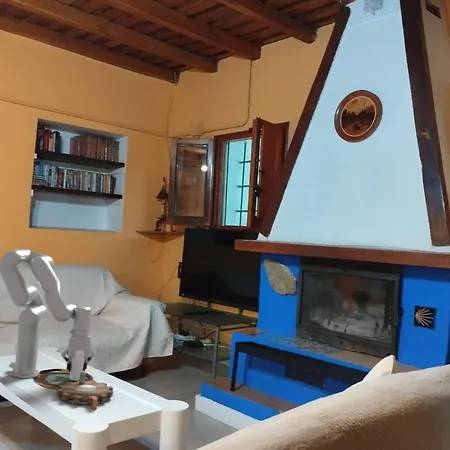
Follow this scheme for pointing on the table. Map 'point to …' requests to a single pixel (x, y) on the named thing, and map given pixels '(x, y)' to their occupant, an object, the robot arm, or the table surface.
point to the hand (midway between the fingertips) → (76, 370)
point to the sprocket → (84, 390)
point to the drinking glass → (77, 365)
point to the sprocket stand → (86, 402)
